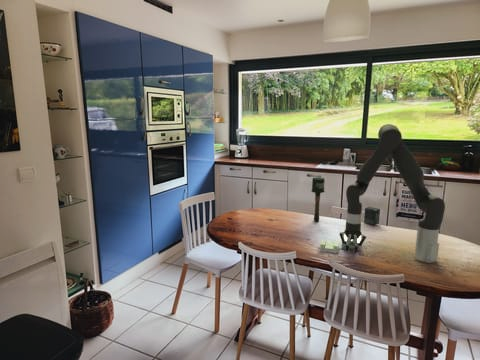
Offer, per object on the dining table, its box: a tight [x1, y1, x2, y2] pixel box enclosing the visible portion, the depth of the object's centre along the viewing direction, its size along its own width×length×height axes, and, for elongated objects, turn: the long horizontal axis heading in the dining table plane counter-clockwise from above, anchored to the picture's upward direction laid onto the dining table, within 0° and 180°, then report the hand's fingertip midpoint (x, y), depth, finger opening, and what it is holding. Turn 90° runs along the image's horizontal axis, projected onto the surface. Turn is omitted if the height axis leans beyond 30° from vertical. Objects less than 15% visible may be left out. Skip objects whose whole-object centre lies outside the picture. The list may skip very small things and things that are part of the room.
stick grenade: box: [310, 176, 325, 223], centre depth 216 cm, size 8×9×30 cm
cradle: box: [319, 238, 340, 254], centre depth 175 cm, size 8×9×4 cm
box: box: [363, 206, 381, 226], centre depth 214 cm, size 8×6×11 cm
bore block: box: [341, 234, 363, 252], centre depth 179 cm, size 12×10×4 cm
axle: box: [348, 240, 355, 252], centre depth 176 cm, size 18×3×3 cm, turn 161°
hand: (351, 251), depth 170 cm, fingers closed on axle, 3 cm apart
